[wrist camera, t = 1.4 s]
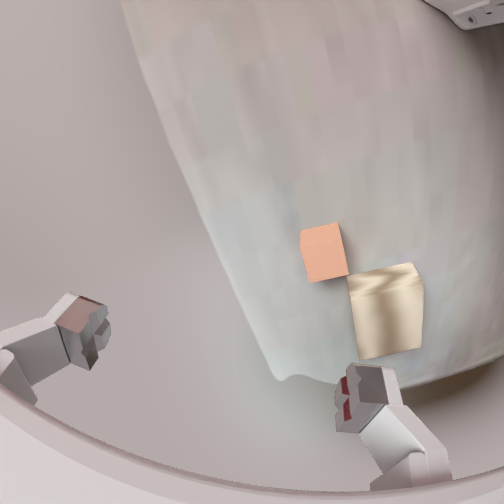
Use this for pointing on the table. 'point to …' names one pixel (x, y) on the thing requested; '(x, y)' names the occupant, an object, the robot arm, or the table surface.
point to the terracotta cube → (323, 252)
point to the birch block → (387, 310)
